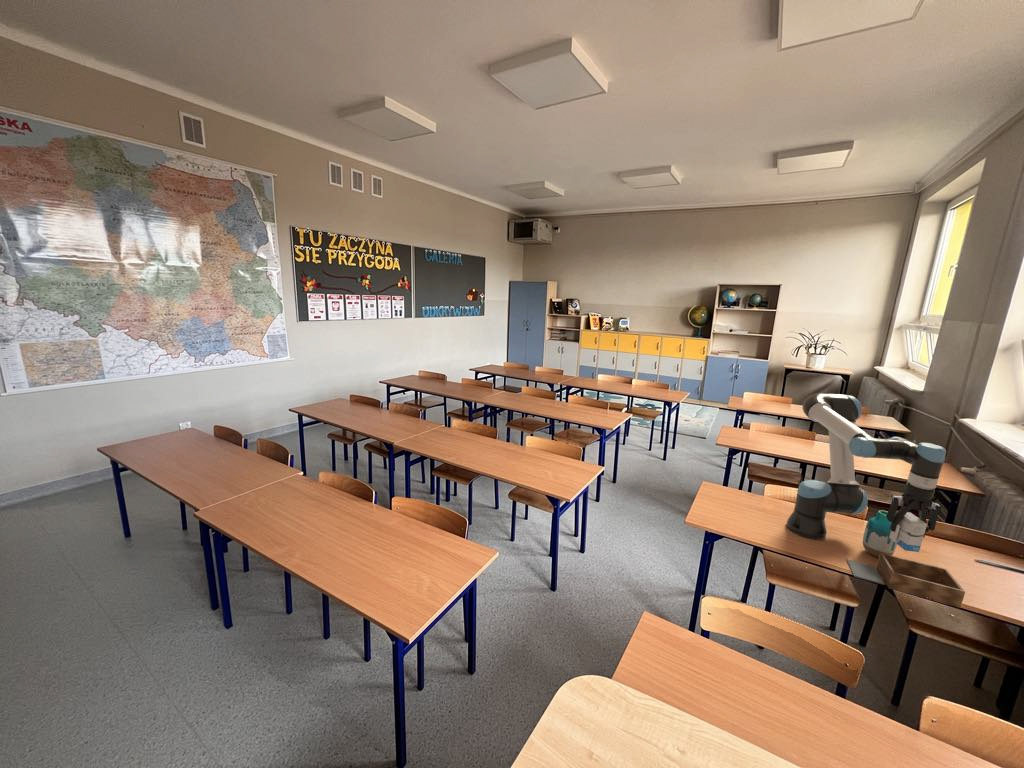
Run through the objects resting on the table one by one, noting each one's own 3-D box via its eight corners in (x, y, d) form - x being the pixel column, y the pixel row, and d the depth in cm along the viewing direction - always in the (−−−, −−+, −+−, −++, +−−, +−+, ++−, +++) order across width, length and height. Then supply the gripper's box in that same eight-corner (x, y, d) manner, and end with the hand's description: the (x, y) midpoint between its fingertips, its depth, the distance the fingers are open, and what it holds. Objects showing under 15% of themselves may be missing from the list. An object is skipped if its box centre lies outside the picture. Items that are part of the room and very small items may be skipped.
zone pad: (854, 576, 161) (854, 575, 161) (846, 560, 171) (846, 558, 171) (883, 584, 157) (884, 583, 157) (874, 567, 167) (874, 566, 167)
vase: (898, 565, 170) (909, 522, 166) (866, 558, 173) (876, 516, 169) (885, 550, 180) (896, 510, 176) (855, 545, 183) (865, 504, 179)
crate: (888, 588, 155) (892, 572, 154) (876, 567, 168) (880, 552, 166) (960, 608, 146) (965, 591, 145) (941, 583, 159) (946, 568, 158)
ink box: (919, 552, 153) (928, 524, 150) (904, 550, 154) (913, 522, 151) (902, 539, 161) (910, 511, 159) (888, 537, 162) (896, 510, 159)
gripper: (891, 483, 152) (876, 539, 158) (961, 496, 145) (942, 554, 150) (884, 475, 159) (869, 529, 164) (950, 487, 151) (932, 543, 157)
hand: (904, 541), depth 157 cm, fingers closed on ink box, 6 cm apart
